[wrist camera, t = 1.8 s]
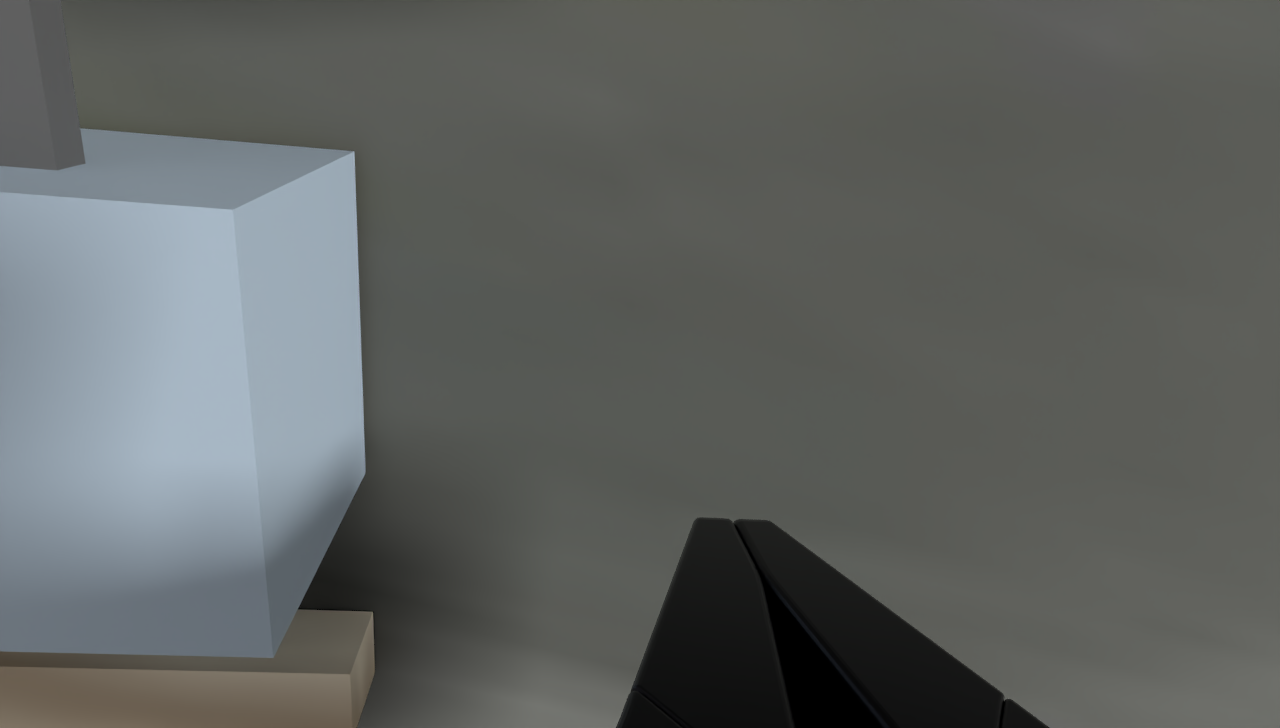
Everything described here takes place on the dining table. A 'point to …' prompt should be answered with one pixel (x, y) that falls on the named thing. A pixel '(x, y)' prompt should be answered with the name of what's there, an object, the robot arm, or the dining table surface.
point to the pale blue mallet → (165, 372)
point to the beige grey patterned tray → (200, 683)
